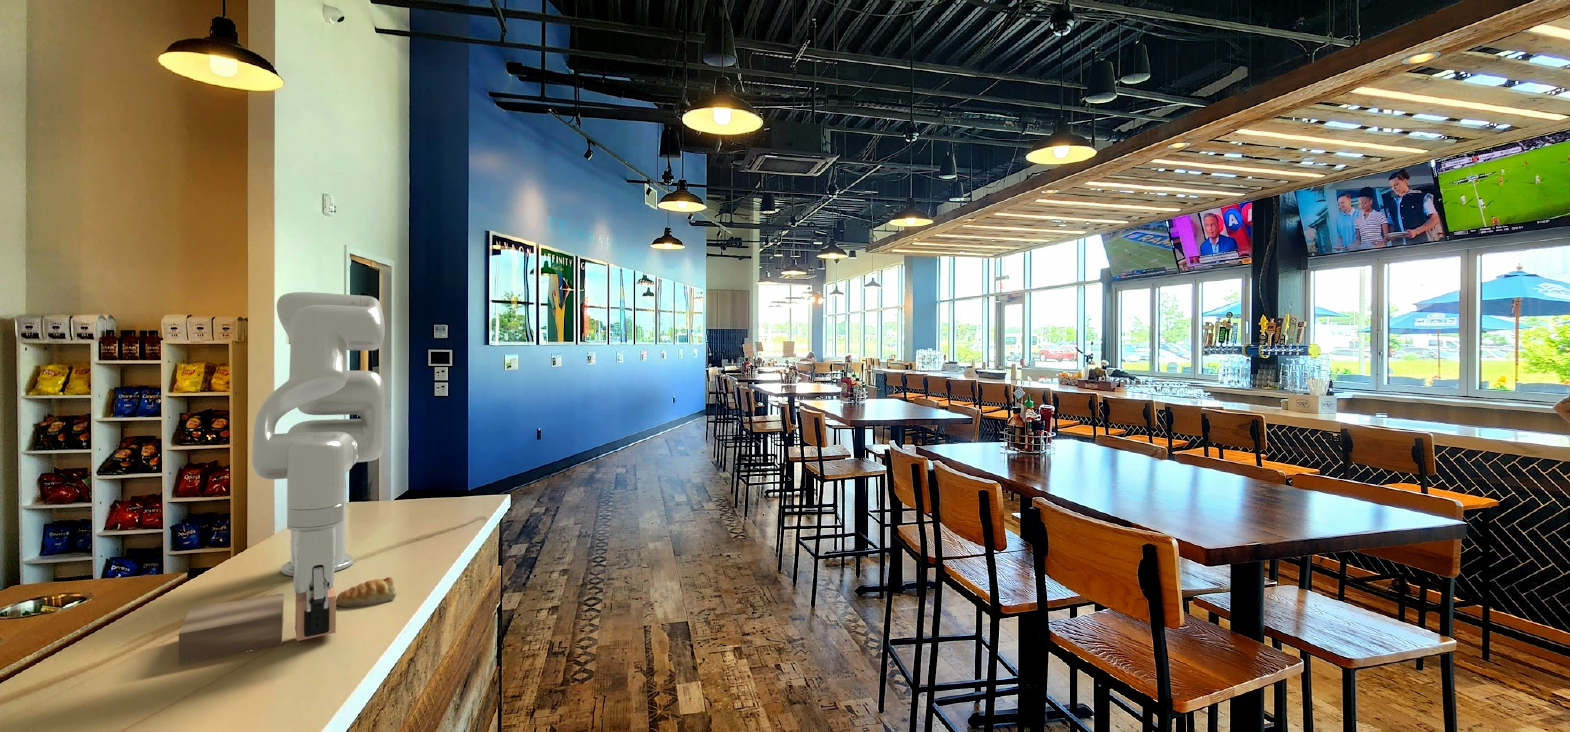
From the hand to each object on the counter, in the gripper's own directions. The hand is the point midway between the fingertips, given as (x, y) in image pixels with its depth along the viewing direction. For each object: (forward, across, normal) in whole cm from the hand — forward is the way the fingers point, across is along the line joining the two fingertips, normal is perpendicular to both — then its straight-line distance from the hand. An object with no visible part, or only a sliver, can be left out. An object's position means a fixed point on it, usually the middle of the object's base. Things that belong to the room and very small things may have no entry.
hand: (315, 626), depth 106 cm
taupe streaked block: (+2, -6, -10) cm, 12 cm away
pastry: (+3, -14, +9) cm, 17 cm away
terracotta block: (+1, 0, 0) cm, 1 cm away
